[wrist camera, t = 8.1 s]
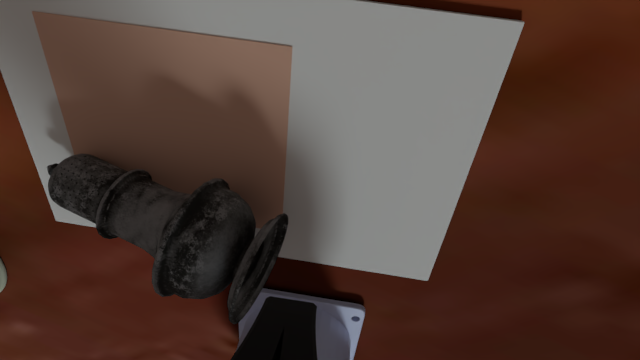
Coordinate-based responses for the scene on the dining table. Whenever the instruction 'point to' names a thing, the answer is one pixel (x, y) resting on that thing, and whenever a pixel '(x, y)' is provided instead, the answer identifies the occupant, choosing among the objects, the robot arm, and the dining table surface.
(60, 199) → the dark grey chess piece
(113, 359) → the dining table surface
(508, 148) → the dining table surface
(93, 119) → the mat
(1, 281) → the can
